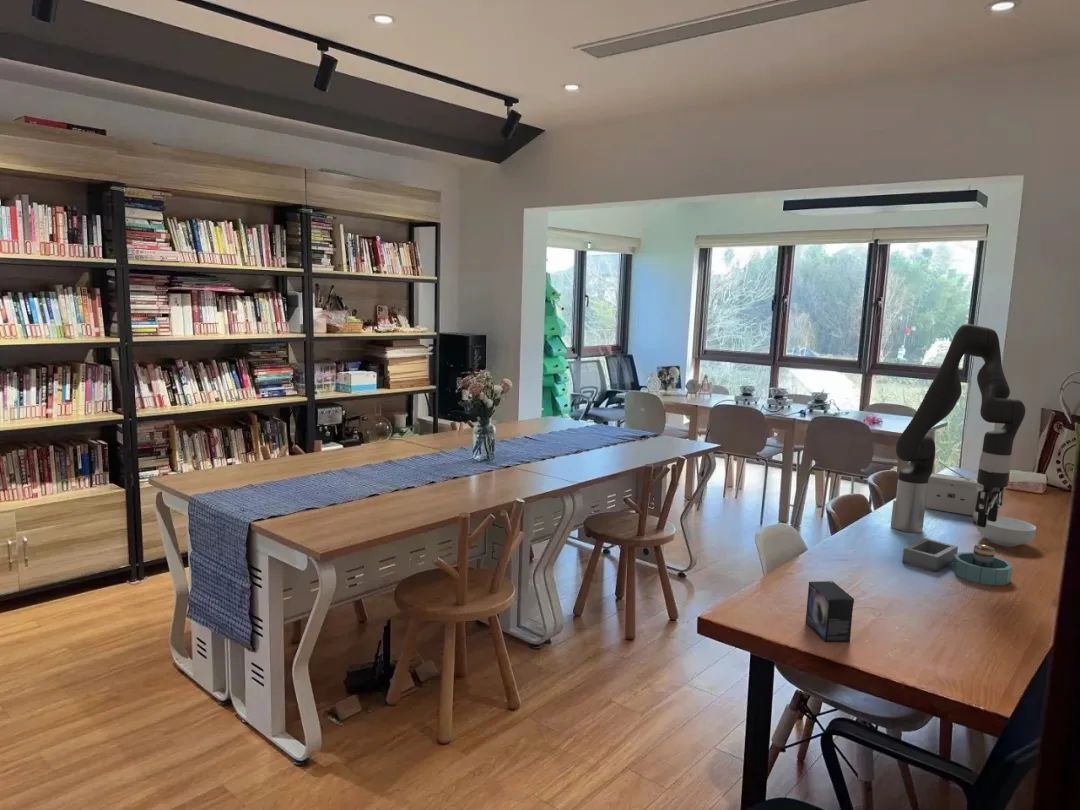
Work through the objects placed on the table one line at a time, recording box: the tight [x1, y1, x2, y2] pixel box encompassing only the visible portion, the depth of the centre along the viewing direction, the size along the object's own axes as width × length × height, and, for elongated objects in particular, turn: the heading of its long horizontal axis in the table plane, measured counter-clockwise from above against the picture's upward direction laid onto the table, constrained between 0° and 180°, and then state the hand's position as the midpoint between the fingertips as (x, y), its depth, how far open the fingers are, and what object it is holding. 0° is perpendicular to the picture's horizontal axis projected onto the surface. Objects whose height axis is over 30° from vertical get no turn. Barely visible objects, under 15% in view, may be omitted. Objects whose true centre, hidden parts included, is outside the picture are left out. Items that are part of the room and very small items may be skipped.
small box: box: [805, 580, 855, 643], centre depth 171 cm, size 11×6×10 cm, turn 5°
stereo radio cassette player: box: [925, 458, 977, 517], centre depth 279 cm, size 21×8×20 cm, turn 58°
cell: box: [972, 544, 996, 568], centre depth 212 cm, size 5×5×8 cm
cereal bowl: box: [975, 515, 1037, 548], centre depth 244 cm, size 17×17×7 cm
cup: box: [951, 551, 1013, 586], centre depth 212 cm, size 14×14×4 cm
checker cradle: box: [902, 537, 959, 573], centre depth 222 cm, size 10×16×4 cm, turn 132°
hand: (986, 523), depth 210 cm, fingers open, 8 cm apart
